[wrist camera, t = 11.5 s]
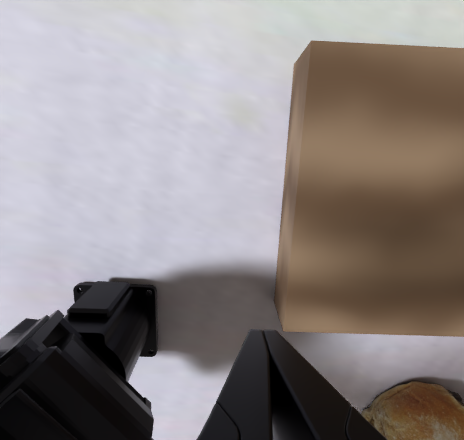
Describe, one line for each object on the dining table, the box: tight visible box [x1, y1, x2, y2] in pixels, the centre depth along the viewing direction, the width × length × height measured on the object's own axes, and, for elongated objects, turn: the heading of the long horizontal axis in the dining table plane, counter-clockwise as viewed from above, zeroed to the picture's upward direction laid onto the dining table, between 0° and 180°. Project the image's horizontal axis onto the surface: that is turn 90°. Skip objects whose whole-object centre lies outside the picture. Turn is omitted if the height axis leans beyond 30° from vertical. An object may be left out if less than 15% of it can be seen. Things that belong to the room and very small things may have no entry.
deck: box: [274, 41, 464, 337], centre depth 19 cm, size 18×14×4 cm
